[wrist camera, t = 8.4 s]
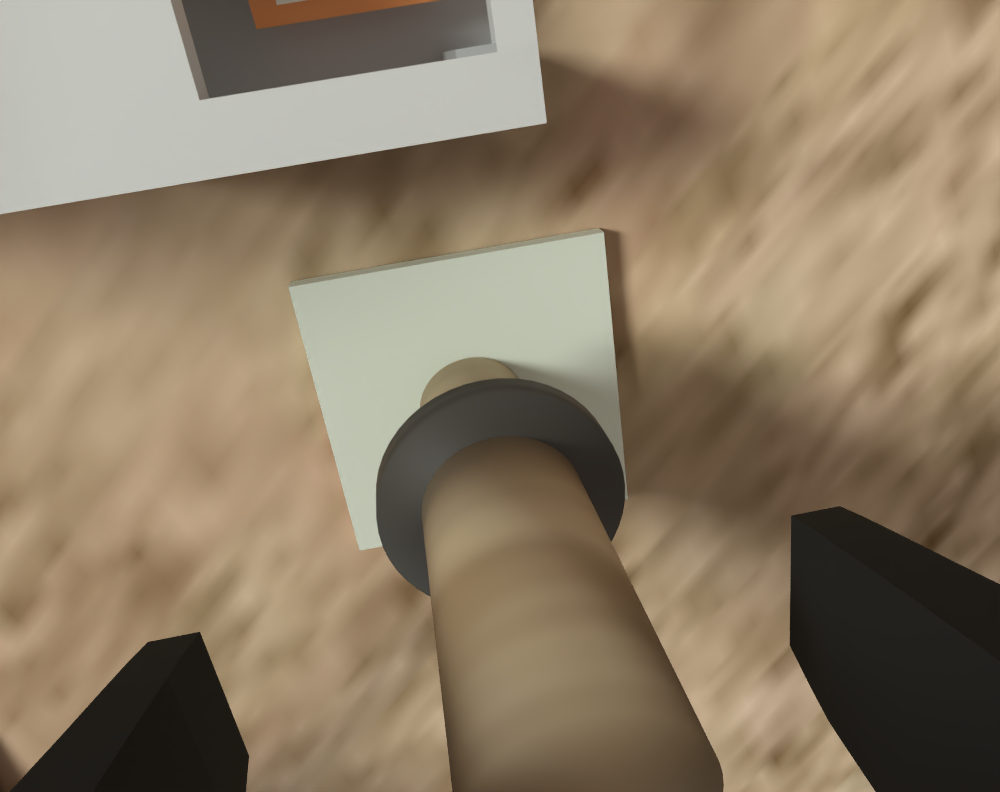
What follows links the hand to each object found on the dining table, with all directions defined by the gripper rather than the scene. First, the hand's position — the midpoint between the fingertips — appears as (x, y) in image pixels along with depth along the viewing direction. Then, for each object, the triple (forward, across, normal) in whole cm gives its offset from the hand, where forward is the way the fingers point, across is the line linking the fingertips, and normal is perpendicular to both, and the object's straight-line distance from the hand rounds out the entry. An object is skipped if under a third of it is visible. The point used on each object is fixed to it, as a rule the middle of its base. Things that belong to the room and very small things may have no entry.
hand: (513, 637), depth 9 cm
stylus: (+7, 0, 0) cm, 7 cm away
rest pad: (+7, 0, 0) cm, 7 cm away
